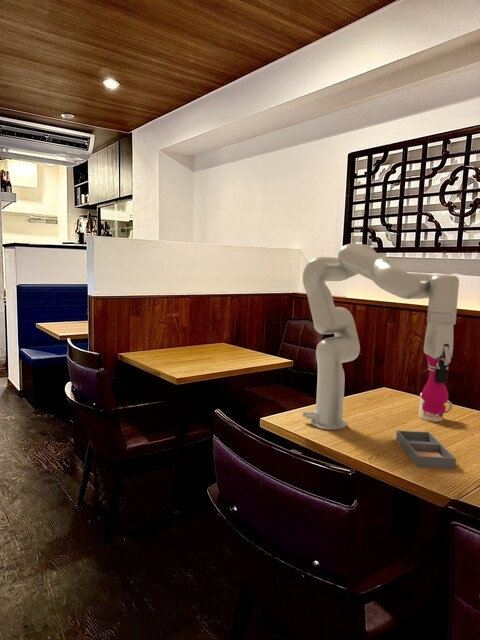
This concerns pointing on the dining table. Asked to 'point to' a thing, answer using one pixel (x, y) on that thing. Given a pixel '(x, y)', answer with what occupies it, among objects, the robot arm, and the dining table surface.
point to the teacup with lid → (431, 416)
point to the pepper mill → (434, 391)
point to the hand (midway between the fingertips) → (436, 379)
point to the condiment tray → (425, 450)
